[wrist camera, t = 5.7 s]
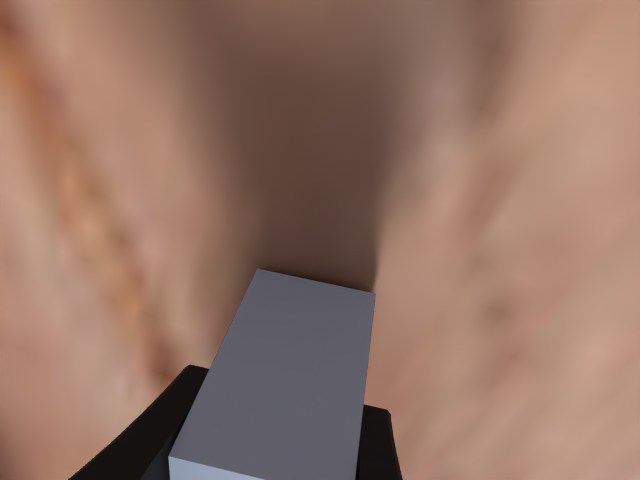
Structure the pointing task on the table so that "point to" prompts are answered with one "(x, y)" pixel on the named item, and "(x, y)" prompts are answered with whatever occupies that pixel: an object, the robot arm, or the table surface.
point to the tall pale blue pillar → (282, 387)
